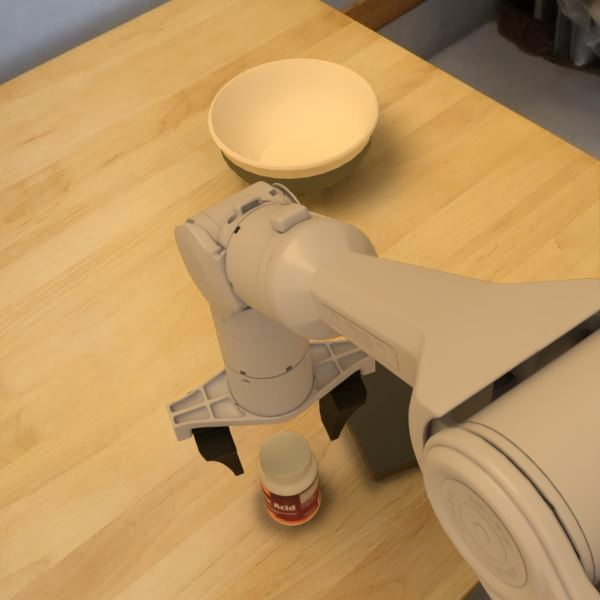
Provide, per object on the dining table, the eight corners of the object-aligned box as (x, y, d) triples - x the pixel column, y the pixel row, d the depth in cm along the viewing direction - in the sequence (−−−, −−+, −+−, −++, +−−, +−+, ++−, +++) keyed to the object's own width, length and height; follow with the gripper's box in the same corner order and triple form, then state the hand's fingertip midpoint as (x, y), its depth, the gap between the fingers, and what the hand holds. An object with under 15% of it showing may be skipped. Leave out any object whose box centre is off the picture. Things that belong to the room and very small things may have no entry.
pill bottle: (254, 509, 72) (241, 461, 66) (287, 466, 74) (277, 416, 68) (300, 538, 70) (292, 492, 64) (332, 493, 73) (327, 444, 66)
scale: (496, 447, 74) (499, 429, 72) (379, 492, 72) (379, 476, 70) (429, 336, 82) (431, 317, 80) (322, 374, 80) (321, 356, 78)
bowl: (382, 222, 92) (382, 165, 86) (210, 226, 93) (198, 170, 87) (378, 111, 104) (377, 53, 97) (225, 116, 105) (215, 60, 99)
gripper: (345, 263, 58) (351, 374, 69) (140, 332, 56) (178, 436, 66) (388, 340, 54) (387, 446, 64) (168, 418, 51) (204, 515, 62)
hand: (283, 446), depth 65 cm, fingers open, 7 cm apart
